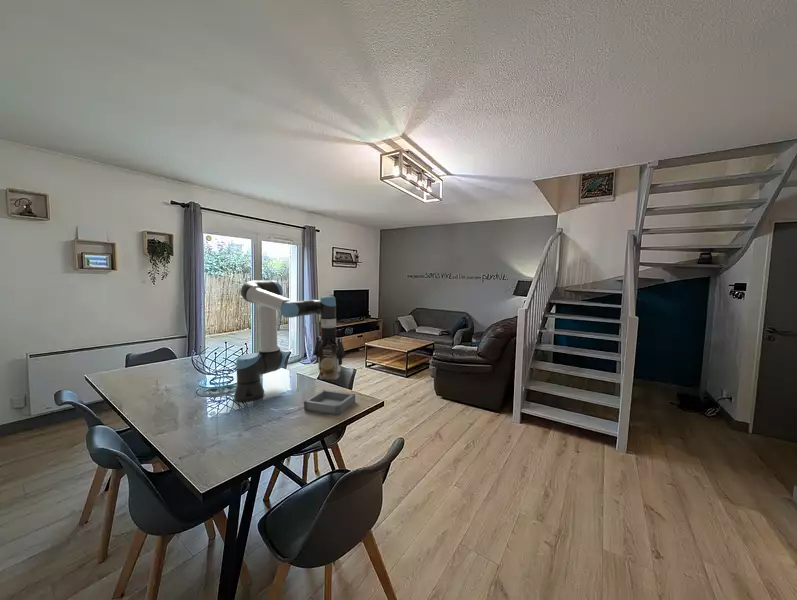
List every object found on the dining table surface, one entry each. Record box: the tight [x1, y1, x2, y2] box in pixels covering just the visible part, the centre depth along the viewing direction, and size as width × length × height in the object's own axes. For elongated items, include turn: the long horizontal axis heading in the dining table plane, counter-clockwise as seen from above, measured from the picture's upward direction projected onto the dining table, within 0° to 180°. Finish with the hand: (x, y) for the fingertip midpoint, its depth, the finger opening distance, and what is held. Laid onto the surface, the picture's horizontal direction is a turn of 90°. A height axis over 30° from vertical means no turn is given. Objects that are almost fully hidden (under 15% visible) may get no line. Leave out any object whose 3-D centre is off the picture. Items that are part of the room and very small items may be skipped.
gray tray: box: [303, 389, 356, 417], centre depth 156 cm, size 20×17×4 cm
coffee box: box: [318, 345, 341, 380], centre depth 155 cm, size 9×6×16 cm
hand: (329, 370), depth 155 cm, fingers closed on coffee box, 10 cm apart
